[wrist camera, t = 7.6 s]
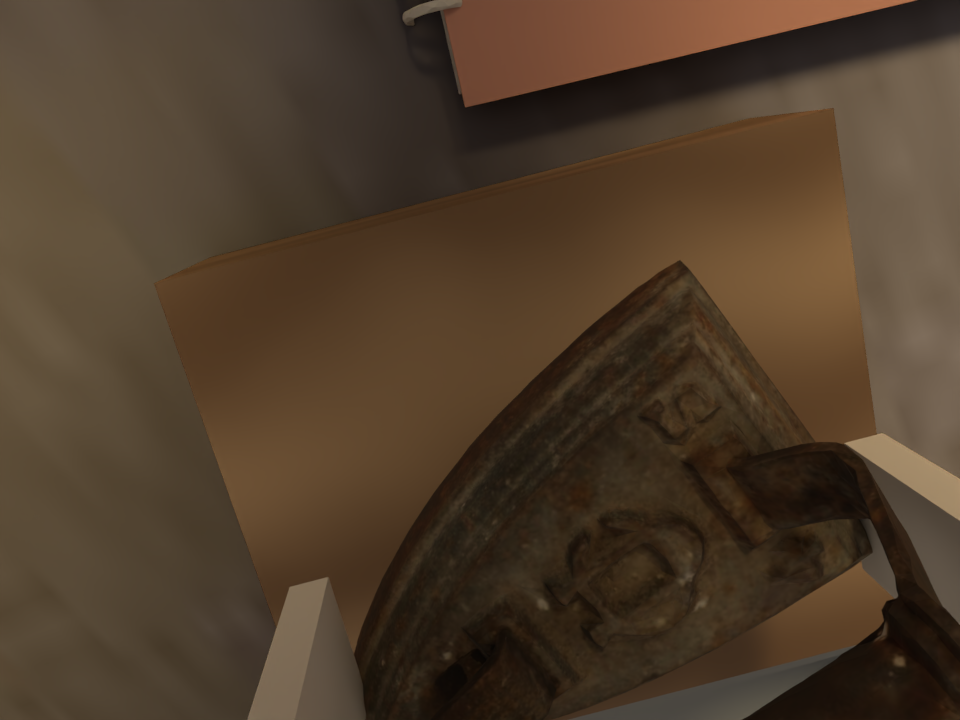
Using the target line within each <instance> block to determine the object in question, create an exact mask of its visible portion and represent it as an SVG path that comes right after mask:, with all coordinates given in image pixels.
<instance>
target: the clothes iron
mask: <svg viewBox="0 0 960 720" xmlns="http://www.w3.org/2000/svg"><path fill="white" fill-rule="evenodd" d="M860 519H870V520H871V522H872V524H873V526H874V528H875V530H876V532H877V535H878V537H879V539H880V542H881V544H882V546H883V549H884V551H885V554H886V556H887V559H888V562H889V564H890V566H891V568H892V571H893V573H894V575H895V582H896V590H897V593H898V597H897V598H895V599H892V600H888V601H886V603H885V605H884V606H883V608H882V615H883V619H884V621H883V623H882V624H881V625H880V627H879V628H878V629H877V630H875V631H874V632H873V633H871V634H870V635H869V636H867V637H866V638H865V639H864V640H862V641H861V642H860V643H858V644H857V645H856V646H854V647H853V648H851V649H849V650H848V651H846V652H844V653H843V654H841V655H840V656H839V657H838V658H837V659H836V660H834V661H833V662H831V663H830V664H828V665H826V666H825V667H823V668H822V669H820V670H819V671H817V672H816V673H814V674H812V675H810V676H809V677H808V678H806V679H805V680H804V681H802V682H800V683H799V684H797V685H795V686H794V687H792V688H790V689H789V690H787V691H786V692H784V693H782V694H781V695H779V696H778V697H776V698H775V699H773V700H772V701H770V702H769V703H768V704H766V705H765V706H763V707H762V708H760V709H759V710H757V711H756V712H754V713H753V714H751V715H750V716H748V717H746V718H744V719H742V720H960V624H959V623H958V622H957V621H956V620H955V619H954V618H953V616H952V615H951V614H950V613H949V612H948V611H947V610H946V609H945V608H944V607H943V606H942V604H941V602H940V600H939V598H938V597H937V595H936V593H935V591H934V588H933V586H932V584H931V582H930V580H929V577H928V575H927V573H926V571H925V569H924V567H923V565H922V562H921V560H920V558H919V556H918V554H917V552H916V550H915V548H914V546H913V543H912V541H911V539H910V537H909V535H908V533H907V532H906V530H905V529H904V527H903V526H902V524H901V522H900V521H899V519H898V518H897V516H896V515H895V513H894V511H893V509H892V508H891V506H890V504H889V502H888V501H887V499H886V497H885V496H884V494H883V492H882V491H881V489H880V487H879V486H878V484H877V482H876V481H875V479H874V477H873V476H872V474H871V472H870V471H869V469H868V467H867V466H866V464H865V462H864V461H863V459H861V458H860V457H859V456H858V455H857V454H855V453H854V452H853V451H852V450H850V449H849V448H848V447H847V446H845V445H844V444H840V443H837V442H815V440H814V439H813V438H812V436H811V435H810V433H809V432H808V431H807V429H806V428H805V426H804V425H803V424H802V422H801V421H800V420H799V418H798V417H797V415H796V414H795V413H794V411H793V410H792V409H791V407H790V406H789V404H788V403H787V402H786V400H785V399H784V398H783V396H782V395H781V393H780V392H779V391H778V389H777V388H776V387H775V385H774V384H773V382H772V381H771V380H770V378H769V377H768V376H767V374H766V373H765V372H764V370H763V369H762V368H761V366H760V365H759V364H758V362H757V361H756V360H755V358H754V357H753V355H752V354H751V353H750V351H749V350H748V348H747V347H746V346H745V344H744V343H743V341H742V340H741V338H740V337H739V336H738V334H737V333H736V331H735V330H734V329H733V327H732V326H731V325H730V323H729V322H728V320H727V319H726V318H725V316H724V315H723V314H722V312H721V311H720V310H719V308H718V307H717V305H716V304H715V303H714V301H713V300H712V299H711V297H710V296H709V295H708V293H707V292H706V290H705V289H704V288H703V286H702V285H701V284H700V282H699V281H698V280H697V278H696V277H695V276H694V275H693V273H692V272H691V271H690V270H689V268H688V267H687V266H686V265H685V264H684V263H683V262H682V261H681V260H679V261H677V262H675V263H674V264H672V265H670V266H668V267H667V268H665V269H663V270H662V271H660V272H658V273H657V274H656V275H655V276H653V277H652V278H651V279H649V280H648V281H647V282H645V283H644V284H642V285H640V286H639V287H637V288H636V289H635V290H634V291H632V292H631V293H630V294H629V295H628V296H626V297H625V298H624V299H623V300H621V301H620V302H619V303H618V304H617V305H615V306H614V307H613V308H612V309H610V310H609V311H608V312H607V313H605V314H604V315H603V316H602V317H601V318H599V319H598V320H597V321H596V322H595V323H593V324H592V325H591V326H590V327H589V328H587V329H586V330H585V331H584V332H583V333H582V334H581V335H580V336H579V337H578V338H577V339H576V340H575V341H573V342H572V343H571V344H570V345H569V346H568V347H567V348H566V349H565V350H564V351H563V352H562V353H561V354H560V355H559V356H558V357H556V358H555V359H554V360H553V361H552V362H551V363H550V364H549V365H548V366H547V367H546V368H545V369H544V370H542V371H541V372H540V373H539V374H538V375H537V376H536V377H535V378H534V379H533V380H532V381H531V382H530V383H529V384H528V385H527V386H526V387H525V388H524V389H523V390H522V391H521V392H520V393H519V394H518V395H517V396H516V397H515V398H514V399H513V400H512V401H511V402H510V403H509V404H508V405H507V406H506V407H505V408H504V409H503V410H502V411H501V412H500V413H499V414H498V415H497V416H496V417H495V418H494V419H493V421H492V422H491V423H490V424H489V425H488V426H487V427H486V428H485V429H484V431H483V432H482V433H481V434H480V435H479V436H478V437H477V438H476V439H475V441H474V442H473V443H472V444H471V445H470V446H469V447H468V449H467V450H466V452H465V453H464V454H463V456H462V457H461V458H460V459H459V461H458V462H457V463H456V465H455V466H454V467H453V468H452V470H451V471H450V472H449V474H448V475H447V476H446V477H445V479H444V480H443V481H442V483H441V484H440V485H439V487H438V488H437V489H436V491H435V492H434V493H433V495H432V496H431V498H430V499H429V501H428V502H427V504H426V505H425V507H424V508H423V509H422V511H421V513H420V514H419V516H418V517H417V519H416V520H415V522H414V523H413V525H412V526H411V528H410V530H409V531H408V533H407V535H406V536H405V538H404V540H403V542H402V543H401V545H400V547H399V549H398V551H397V552H396V554H395V556H394V558H393V560H392V562H391V563H390V565H389V567H388V569H387V571H386V572H385V574H384V576H383V578H382V580H381V582H380V585H379V587H378V589H377V591H376V593H375V596H374V598H373V601H372V603H371V605H370V608H369V610H368V613H367V615H366V618H365V620H364V623H363V625H362V628H361V631H360V634H359V637H358V640H357V645H356V648H355V652H354V657H355V660H356V663H357V666H358V669H359V673H360V676H361V680H362V684H363V696H364V706H365V711H366V719H365V720H553V719H556V718H559V717H562V716H565V715H568V714H571V713H574V712H577V711H580V710H583V709H586V708H589V707H591V706H593V705H596V704H598V703H601V702H603V701H606V700H608V699H611V698H613V697H616V696H618V695H621V694H623V693H626V692H628V691H630V690H633V689H635V688H637V687H639V686H641V685H644V684H646V683H648V682H650V681H652V680H655V679H657V678H659V677H661V676H663V675H665V674H667V673H669V672H671V671H673V670H675V669H677V668H679V667H681V666H683V665H685V664H687V663H689V662H691V661H693V660H695V659H697V658H699V657H701V656H703V655H705V654H707V653H709V652H711V651H713V650H715V649H717V648H719V647H721V646H723V645H724V644H726V643H728V642H730V641H731V640H733V639H735V638H737V637H738V636H740V635H742V634H743V633H745V632H747V631H749V630H750V629H752V628H754V627H756V626H757V625H759V624H761V623H763V622H764V621H766V620H768V619H770V618H771V617H773V616H775V615H777V614H778V613H780V612H782V611H783V610H785V609H786V608H788V607H789V606H791V605H793V604H794V603H796V602H797V601H799V600H800V599H802V598H804V597H805V596H807V595H809V594H810V593H812V592H813V591H815V590H817V589H818V588H820V587H822V586H823V585H825V584H827V583H828V582H830V581H832V580H833V579H835V578H836V577H838V576H840V575H841V574H843V573H845V572H846V571H848V570H849V569H851V568H853V567H854V566H855V565H857V564H858V563H859V562H861V560H863V559H864V558H866V557H867V556H869V555H870V554H872V553H873V551H872V547H871V544H870V541H869V538H868V536H867V533H866V530H865V528H864V527H863V525H862V523H861V521H860Z"/></svg>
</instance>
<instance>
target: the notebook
mask: <svg viewBox="0 0 960 720" xmlns="http://www.w3.org/2000/svg"><path fill="white" fill-rule="evenodd" d="M913 1H917V0H434V1H430V2H427V3H424V4H420V5H417V6H415V7H413V8H411V9H409V10H407V11H405V12H404V14H403V21H404V23H405V24H406V25H407V26H414V18H416V17H419V16H421V15H424V14H428V13H432V12H436V11H440V12H441V17H442V21H443V26H444V30H445V35H446V39H447V44H448V48H449V52H450V57H451V61H452V66H453V70H454V75H455V79H456V83H457V88H458V92H459V95H460V94H462V96H463V101H464V105H465V108H467V107H471V106H475V105H479V104H484V103H488V102H492V101H496V100H500V99H505V98H509V97H513V96H517V95H522V94H526V93H530V92H534V91H538V90H543V89H547V88H551V87H555V86H559V85H564V84H568V83H572V82H576V81H580V80H585V79H589V78H593V77H597V76H601V75H606V74H610V73H614V72H618V71H622V70H627V69H631V68H635V67H639V66H643V65H648V64H652V63H656V62H660V61H664V60H669V59H673V58H677V57H681V56H686V55H690V54H694V53H698V52H702V51H707V50H711V49H715V48H719V47H723V46H728V45H732V44H736V43H740V42H744V41H749V40H753V39H757V38H761V37H765V36H770V35H774V34H778V33H782V32H786V31H791V30H795V29H799V28H803V27H807V26H812V25H816V24H820V23H824V22H828V21H833V20H837V19H841V18H845V17H850V16H854V15H858V14H862V13H866V12H871V11H875V10H879V9H883V8H887V7H892V6H896V5H900V4H904V3H908V2H913Z"/></svg>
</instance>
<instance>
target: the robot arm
mask: <svg viewBox="0 0 960 720" xmlns="http://www.w3.org/2000/svg"><path fill="white" fill-rule="evenodd" d="M844 445H845V446H847V447H848V448H849V449H850V450H852V451H853V452H854V453H855V454H857V455H858V456H859V457H860V458H861V459H863V461H864V462H865V464H866V466H867V467H868V469H869V471H870V472H871V474H872V476H873V477H874V479H875V481H876V482H877V484H878V486H879V487H880V489H881V491H882V492H883V494H884V496H885V497H886V499H887V501H888V502H889V504H890V506H891V508H892V509H893V511H894V513H895V515H896V516H897V518H898V519H899V521H900V522H901V524H902V526H903V527H904V529H905V530H906V532H907V533H908V535H909V537H910V539H911V541H912V543H913V546H914V548H915V550H916V552H917V554H918V556H919V558H920V560H921V562H922V565H923V567H924V569H925V571H926V573H927V575H928V577H929V580H930V582H931V584H932V586H933V588H934V591H935V593H936V595H937V597H938V598H939V600H940V602H941V604H942V606H943V607H944V608H945V609H946V610H947V611H948V612H949V613H950V614H951V615H952V616H953V618H954V619H955V620H956V621H957V622H958V623H959V624H960V479H959V478H957V477H956V476H954V475H952V474H951V473H949V472H947V471H946V470H944V469H942V468H940V467H939V466H937V465H935V464H934V463H932V462H930V461H929V460H927V459H925V458H924V457H922V456H920V455H919V454H917V453H915V452H914V451H912V450H910V449H909V448H907V447H905V446H903V445H902V444H900V443H898V442H897V441H895V440H893V439H892V438H890V437H888V436H887V435H885V434H883V433H881V434H877V435H873V436H870V437H866V438H862V439H858V440H854V441H850V442H846V443H844ZM860 521H861V523H862V525H863V527H864V528H865V530H866V533H867V536H868V538H869V541H870V544H871V547H872V551H873V553H872V554H870V555H869V556H867V557H866V558H864V559H863V560H861V561H862V568H863V570H864V571H866V572H867V573H868V574H869V575H870V576H871V577H872V578H873V579H874V580H875V581H876V582H877V583H878V584H879V585H881V586H882V587H883V588H884V589H885V590H886V591H887V592H888V593H889V594H890V595H891V596H892V597H893V598H897V597H898V593H897V590H896V582H895V575H894V573H893V571H892V568H891V566H890V564H889V562H888V559H887V556H886V554H885V551H884V549H883V546H882V544H881V542H880V539H879V537H878V535H877V532H876V530H875V528H874V526H873V524H872V522H871V520H870V519H860ZM365 719H366V711H365V706H364V696H363V684H362V680H361V676H360V673H359V669H358V666H357V663H356V660H355V657H354V654H353V651H352V648H351V645H350V641H349V638H348V635H347V632H346V629H345V626H344V623H343V620H342V617H341V614H340V611H339V608H338V605H337V602H336V599H335V596H334V593H333V590H332V587H331V584H330V581H329V578H328V577H326V578H322V579H318V580H314V581H311V582H307V583H303V584H299V585H295V586H291V587H289V591H288V594H287V597H286V600H285V603H284V606H283V609H282V612H281V616H280V619H279V622H278V625H277V628H276V631H275V634H274V637H273V640H272V644H271V647H270V650H269V653H268V656H267V659H266V662H265V665H264V669H263V672H262V675H261V678H260V681H259V684H258V687H257V690H256V694H255V697H254V700H253V703H252V706H251V709H250V712H249V715H248V718H247V720H365Z"/></svg>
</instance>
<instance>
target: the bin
mask: <svg viewBox="0 0 960 720" xmlns="http://www.w3.org/2000/svg"><path fill="white" fill-rule="evenodd" d="M854 646H856V645H854ZM854 646H850V647H846V648H843V649H839V650H835V651H831V652H827V653H823V654H819V655H816V656H812V657H808V658H804V659H800V660H796V661H792V662H789V663H785V664H781V665H777V666H773V667H769V668H765V669H762V670H758V671H754V672H750V673H746V674H742V675H739V676H735V677H731V678H727V679H723V680H719V681H715V682H712V683H708V684H704V685H700V686H696V687H692V688H688V689H685V690H681V691H677V692H673V693H669V694H665V695H661V696H658V697H654V698H650V699H646V700H642V701H638V702H634V703H631V704H627V705H623V706H619V707H615V708H611V709H607V710H604V711H600V712H596V713H592V714H588V715H584V716H581V717H577V718H573V719H569V720H742V719H744V718H746V717H748V716H750V715H751V714H753V713H754V712H756V711H757V710H759V709H760V708H762V707H763V706H765V705H766V704H768V703H769V702H770V701H772V700H773V699H775V698H776V697H778V696H779V695H781V694H782V693H784V692H786V691H787V690H789V689H790V688H792V687H794V686H795V685H797V684H799V683H800V682H802V681H804V680H805V679H806V678H808V677H809V676H810V675H812V674H814V673H816V672H817V671H819V670H820V669H822V668H823V667H825V666H826V665H828V664H830V663H831V662H833V661H834V660H836V659H837V658H838V657H839V656H840V655H841V654H843V653H844V652H846V651H848V650H849V649H851V648H853V647H854Z"/></svg>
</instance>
